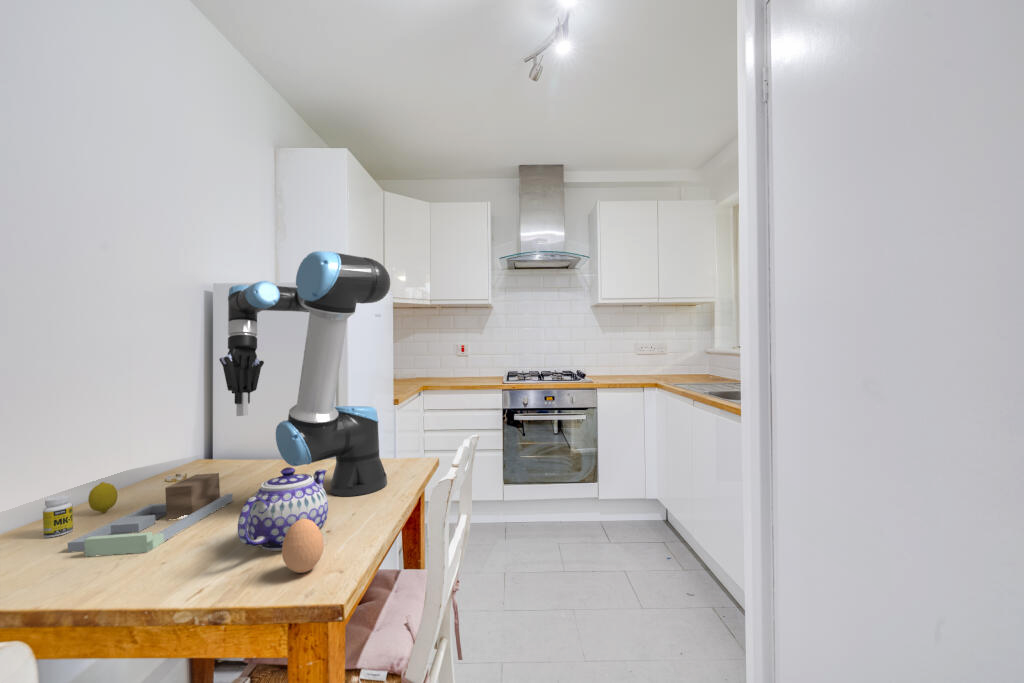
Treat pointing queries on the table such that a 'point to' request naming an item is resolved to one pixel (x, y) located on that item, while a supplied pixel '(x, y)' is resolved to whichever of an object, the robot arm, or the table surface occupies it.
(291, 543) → the egg
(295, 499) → the teapot
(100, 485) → the lemon
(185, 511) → the walnut block
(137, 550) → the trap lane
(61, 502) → the supplement bottle
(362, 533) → the table surface
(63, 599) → the table surface
